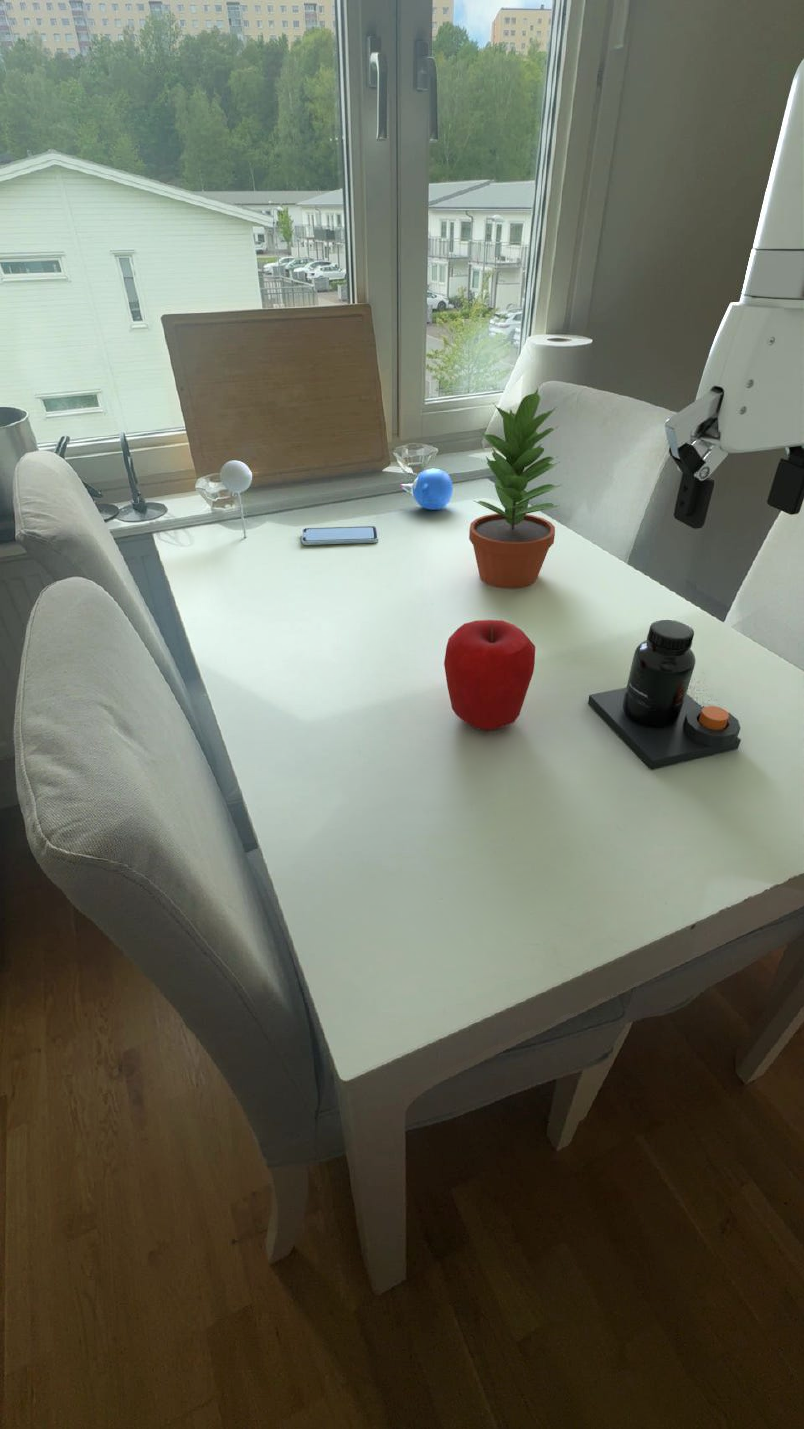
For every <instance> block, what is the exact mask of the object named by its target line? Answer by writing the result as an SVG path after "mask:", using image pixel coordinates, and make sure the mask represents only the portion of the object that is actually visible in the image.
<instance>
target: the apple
mask: <svg viewBox="0 0 804 1429" xmlns="http://www.w3.org/2000/svg"><path fill="white" fill-rule="evenodd" d="M443 661H444V662H443V665H444V672H445V679H446V686H447V691H448V696H449V702H450V705H451V709H452V711H453V712H454V713H455V715H456V716H457V717H458V718H460V719H461V721H463V722H464V723H466V724H468V725H469V726H471V727H473V728H476V729H478V730H481V731H486V732H487V731H488V732H490V731H495V730H498V729H501V728H504V727H507V726H509V725H511V724H514V722H515V721H516V720H517V719H518V717H520V714H521V710H522V709H523V705H524V702H525V699H526V695H527V694H528V693H527V692H528V690H529V687H530V684H531V682H532V681H531V680H532V678H533V675H534V672H535V662H536V645H535V644H534V643H533V641H532V640H531V639H530V637H528V636H527V634H526V633H525V632H524V631H523V630H522V629H520V628H519V627H518V626H516V625H515V624H513V623H510V622H508V621H504V620H499V619H483V620H479V619H478V620H473V621H470V622H466V623H463V624H462V625H460V626H459V627H458V628H457V629H456V630H455V631H454V632H453V633H452V634H451V636H450V637H449V638H448V640H447V643H446V647H445V653H444V660H443Z"/></svg>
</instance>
